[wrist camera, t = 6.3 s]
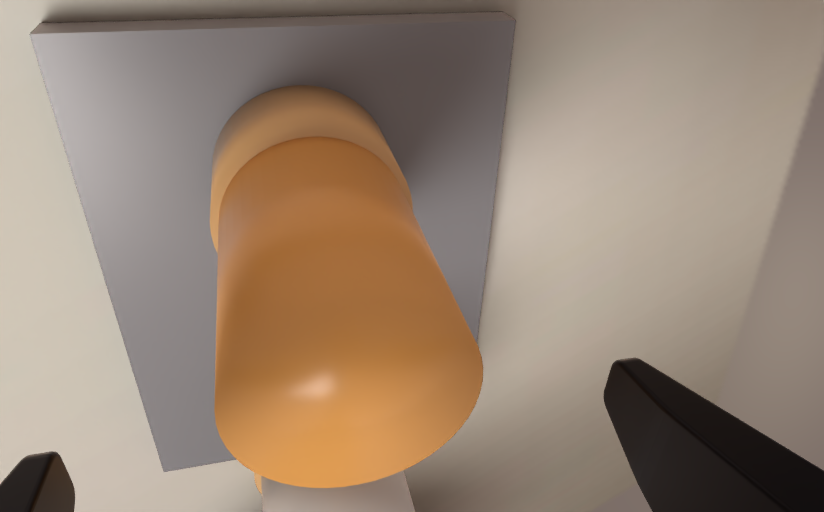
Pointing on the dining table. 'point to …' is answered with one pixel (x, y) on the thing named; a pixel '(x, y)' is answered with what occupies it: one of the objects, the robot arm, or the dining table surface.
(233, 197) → the orange capsule
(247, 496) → the dining table surface
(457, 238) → the junction plate
